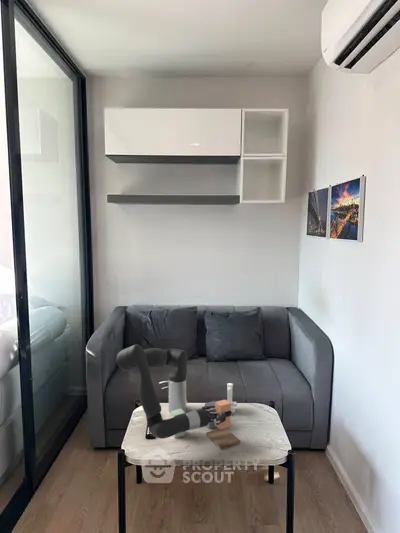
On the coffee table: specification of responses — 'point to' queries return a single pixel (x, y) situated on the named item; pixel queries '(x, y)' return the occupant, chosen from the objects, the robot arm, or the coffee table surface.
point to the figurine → (229, 398)
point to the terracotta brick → (223, 407)
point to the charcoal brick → (211, 424)
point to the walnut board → (222, 438)
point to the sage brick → (175, 413)
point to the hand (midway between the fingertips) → (227, 410)
